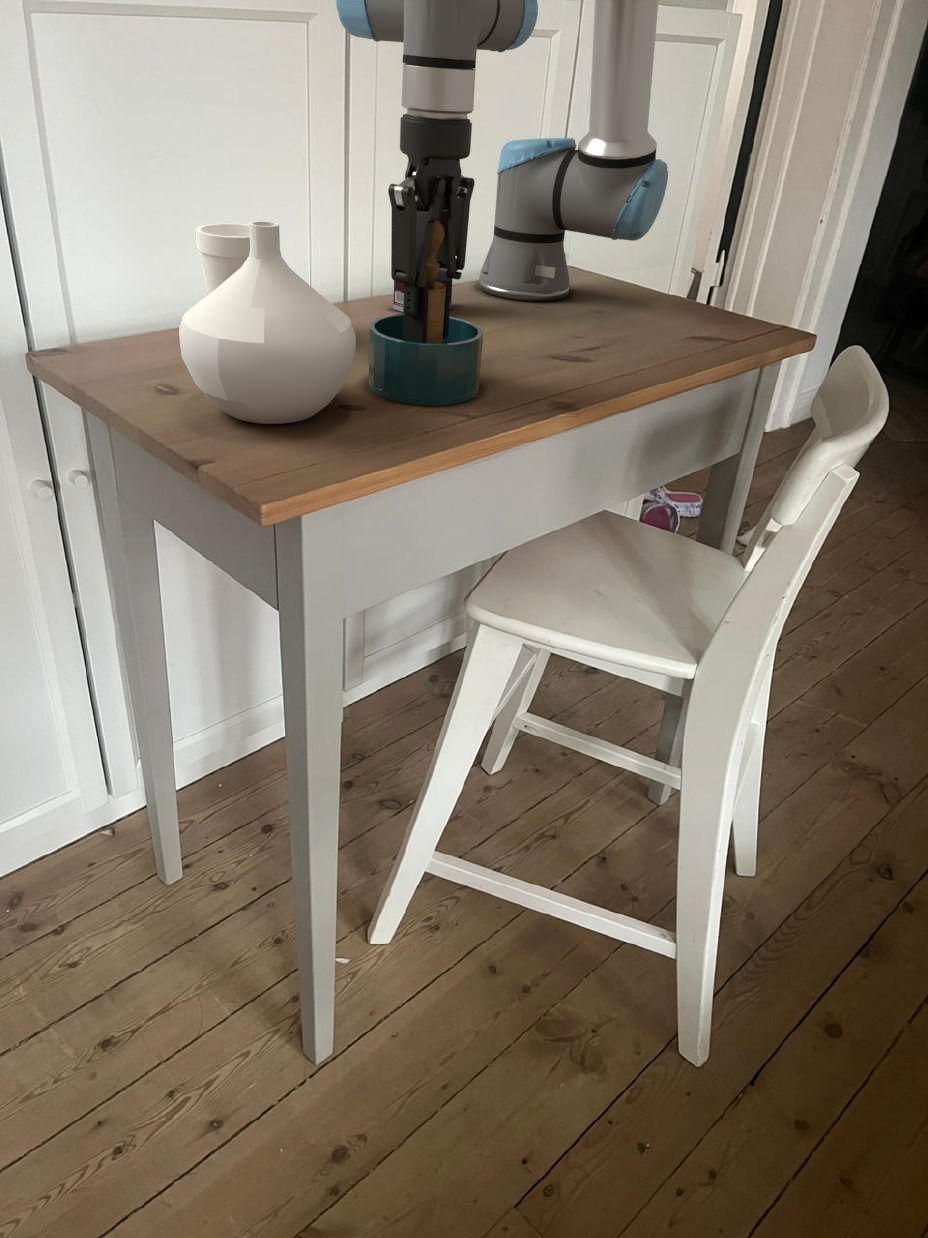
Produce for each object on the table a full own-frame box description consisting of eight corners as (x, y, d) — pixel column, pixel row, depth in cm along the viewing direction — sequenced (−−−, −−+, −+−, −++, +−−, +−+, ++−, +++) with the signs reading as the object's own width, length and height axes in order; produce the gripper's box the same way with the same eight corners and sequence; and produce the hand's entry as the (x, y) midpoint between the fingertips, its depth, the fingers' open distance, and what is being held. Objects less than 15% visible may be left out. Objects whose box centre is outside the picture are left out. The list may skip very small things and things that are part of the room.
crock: (410, 362, 122) (412, 307, 118) (498, 386, 116) (503, 328, 112) (346, 387, 112) (346, 327, 108) (438, 414, 106) (442, 352, 103)
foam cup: (190, 336, 125) (182, 231, 118) (222, 319, 133) (215, 220, 126) (257, 345, 123) (252, 240, 116) (285, 328, 131) (282, 228, 124)
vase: (158, 395, 105) (139, 211, 95) (303, 373, 115) (300, 204, 105) (231, 452, 93) (218, 248, 83) (386, 421, 103) (392, 236, 93)
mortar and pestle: (444, 392, 110) (453, 228, 101) (390, 384, 111) (394, 221, 102) (455, 375, 116) (465, 218, 106) (404, 368, 117) (410, 212, 107)
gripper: (451, 108, 107) (439, 319, 119) (357, 111, 94) (355, 346, 106) (508, 115, 103) (490, 331, 116) (419, 120, 91) (410, 361, 103)
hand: (426, 338), depth 111 cm, fingers open, 4 cm apart
